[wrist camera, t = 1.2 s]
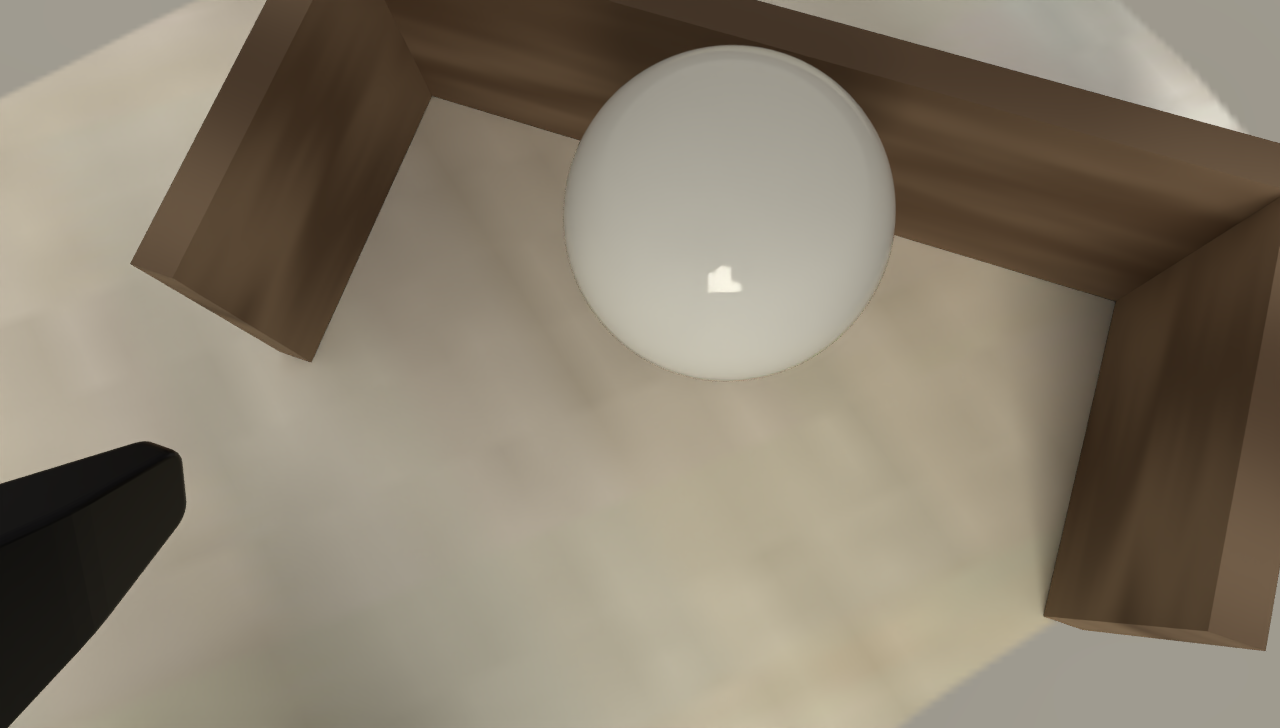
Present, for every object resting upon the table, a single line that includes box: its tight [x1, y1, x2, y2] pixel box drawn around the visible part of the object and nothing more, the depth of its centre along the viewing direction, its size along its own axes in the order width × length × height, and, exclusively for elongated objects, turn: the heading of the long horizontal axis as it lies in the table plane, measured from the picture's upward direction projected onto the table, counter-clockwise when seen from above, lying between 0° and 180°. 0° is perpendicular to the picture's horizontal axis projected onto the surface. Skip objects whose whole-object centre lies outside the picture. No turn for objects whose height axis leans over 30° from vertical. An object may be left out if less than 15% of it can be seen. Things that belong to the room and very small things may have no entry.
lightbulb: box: [563, 45, 896, 382], centre depth 19 cm, size 6×6×11 cm
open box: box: [130, 0, 1280, 651], centre depth 21 cm, size 10×23×7 cm, turn 71°
